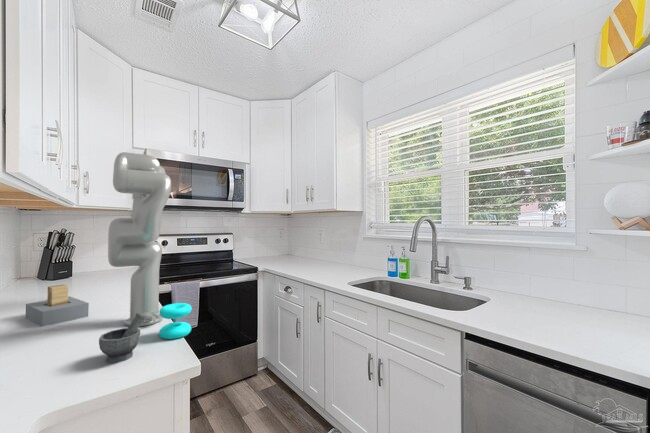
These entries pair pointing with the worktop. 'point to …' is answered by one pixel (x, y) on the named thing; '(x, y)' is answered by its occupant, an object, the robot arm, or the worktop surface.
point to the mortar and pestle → (121, 341)
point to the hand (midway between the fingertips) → (141, 231)
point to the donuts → (175, 328)
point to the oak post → (57, 295)
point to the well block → (56, 311)
